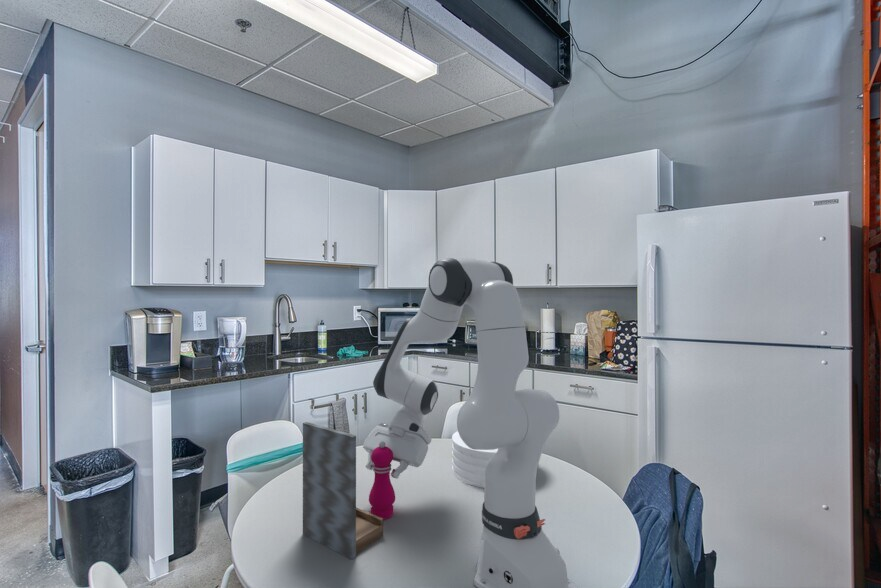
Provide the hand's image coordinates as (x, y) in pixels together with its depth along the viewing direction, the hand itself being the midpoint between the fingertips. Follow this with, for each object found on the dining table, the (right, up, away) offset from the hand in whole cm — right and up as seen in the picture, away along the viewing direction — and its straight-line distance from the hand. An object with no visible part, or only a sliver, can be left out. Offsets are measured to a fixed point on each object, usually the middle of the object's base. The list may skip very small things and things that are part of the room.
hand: (380, 472), depth 122 cm
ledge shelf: (-7, -11, -10) cm, 17 cm away
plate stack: (+34, -12, +30) cm, 47 cm away
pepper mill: (0, -12, +1) cm, 12 cm away
